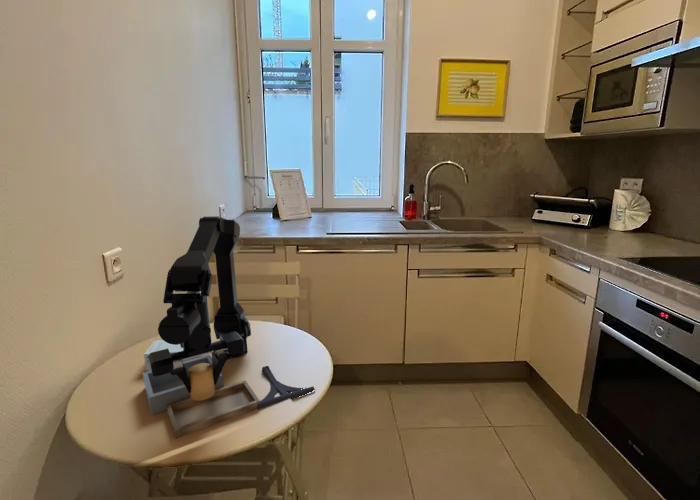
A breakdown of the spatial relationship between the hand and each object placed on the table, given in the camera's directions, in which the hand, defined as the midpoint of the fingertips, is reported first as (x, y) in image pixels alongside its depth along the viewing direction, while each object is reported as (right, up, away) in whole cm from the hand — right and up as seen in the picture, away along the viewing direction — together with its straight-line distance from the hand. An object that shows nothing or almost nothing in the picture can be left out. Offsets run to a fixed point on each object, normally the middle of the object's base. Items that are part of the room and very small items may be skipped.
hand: (202, 387), depth 88 cm
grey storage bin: (-8, -5, +10) cm, 14 cm away
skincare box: (-23, +1, +22) cm, 32 cm away
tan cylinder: (0, -1, 0) cm, 2 cm away
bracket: (+14, -4, +13) cm, 19 cm away
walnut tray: (+2, -7, +3) cm, 7 cm away
